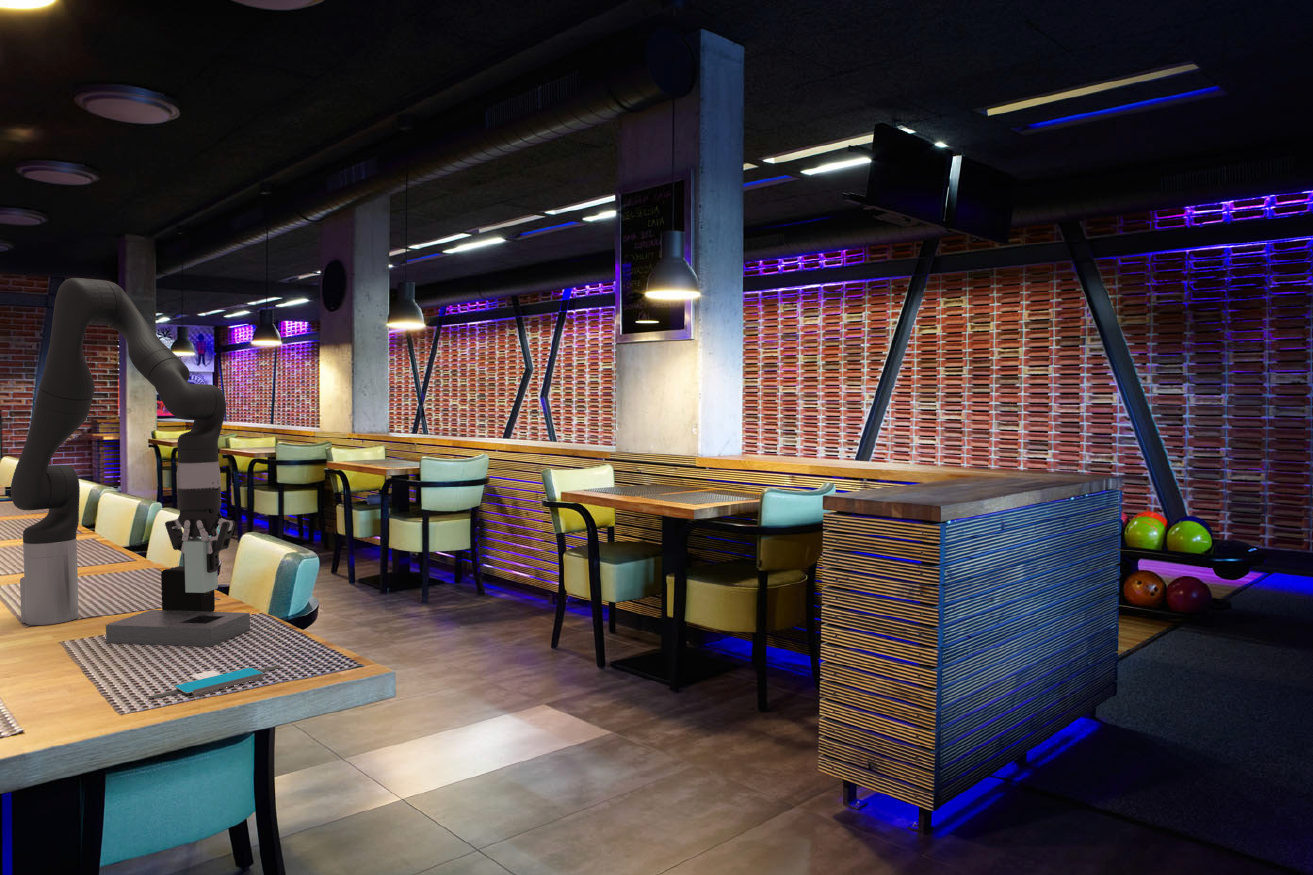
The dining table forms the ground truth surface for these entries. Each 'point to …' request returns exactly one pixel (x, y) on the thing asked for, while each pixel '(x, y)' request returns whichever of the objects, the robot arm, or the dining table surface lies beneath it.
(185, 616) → the grey peg hole base
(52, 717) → the dining table surface
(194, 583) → the sage green square post
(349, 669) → the dining table surface
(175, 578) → the electronic device
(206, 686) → the teal bar with rods
